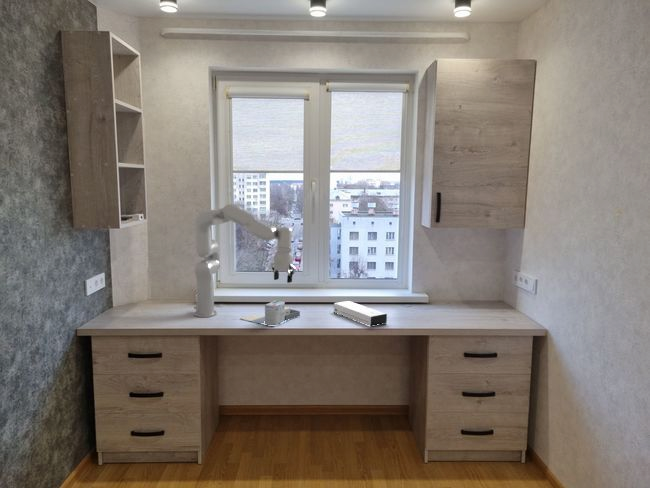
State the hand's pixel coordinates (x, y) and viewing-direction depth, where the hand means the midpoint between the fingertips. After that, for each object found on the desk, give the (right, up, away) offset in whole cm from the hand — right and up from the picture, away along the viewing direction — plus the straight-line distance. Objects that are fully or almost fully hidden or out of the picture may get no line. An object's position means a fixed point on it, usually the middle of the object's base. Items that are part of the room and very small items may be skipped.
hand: (282, 280), depth 240 cm
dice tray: (0, -21, +9) cm, 23 cm away
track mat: (-11, -22, +1) cm, 24 cm away
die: (0, -21, +9) cm, 23 cm away
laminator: (+42, -23, +9) cm, 48 cm away
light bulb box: (-4, -22, -4) cm, 23 cm away
